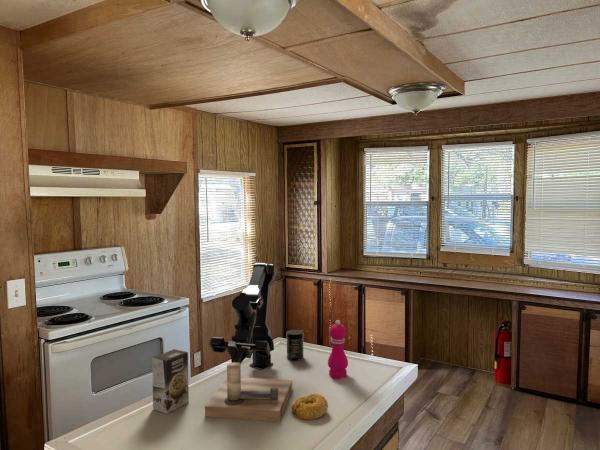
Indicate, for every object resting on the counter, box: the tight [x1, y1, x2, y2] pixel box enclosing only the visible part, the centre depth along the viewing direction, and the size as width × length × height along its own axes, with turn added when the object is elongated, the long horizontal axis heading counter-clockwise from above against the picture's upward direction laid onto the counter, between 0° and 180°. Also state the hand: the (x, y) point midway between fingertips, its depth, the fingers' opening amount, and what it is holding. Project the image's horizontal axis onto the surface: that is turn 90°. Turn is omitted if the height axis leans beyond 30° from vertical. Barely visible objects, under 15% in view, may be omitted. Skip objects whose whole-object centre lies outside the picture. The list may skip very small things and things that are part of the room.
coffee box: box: [151, 348, 190, 414], centre depth 138 cm, size 9×6×16 cm
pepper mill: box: [327, 319, 349, 379], centre depth 161 cm, size 7×7×20 cm
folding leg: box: [226, 362, 278, 400], centre depth 136 cm, size 4×15×10 cm, turn 92°
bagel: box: [290, 393, 329, 421], centre depth 134 cm, size 10×11×5 cm
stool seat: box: [204, 376, 293, 422], centre depth 141 cm, size 22×22×3 cm
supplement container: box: [285, 329, 304, 362], centre depth 179 cm, size 7×7×10 cm
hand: (233, 372), depth 138 cm, fingers closed, pressing on folding leg
